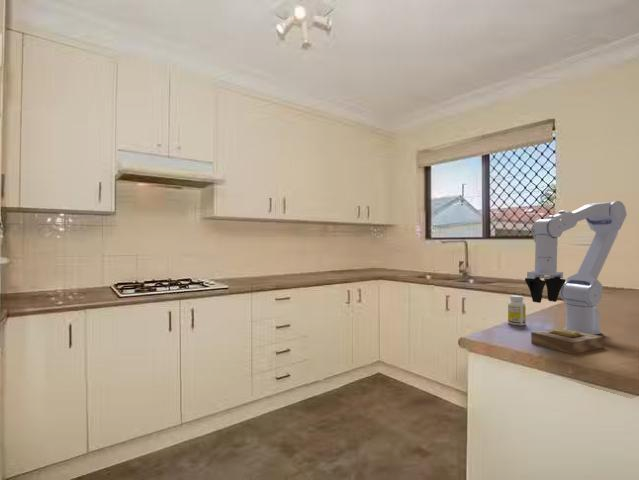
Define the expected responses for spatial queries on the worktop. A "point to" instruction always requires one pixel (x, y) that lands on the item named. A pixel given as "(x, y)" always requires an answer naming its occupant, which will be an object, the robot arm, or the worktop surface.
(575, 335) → the wooden block
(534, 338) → the brown wooden frame
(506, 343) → the worktop surface
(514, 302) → the supplement bottle
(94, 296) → the worktop surface
